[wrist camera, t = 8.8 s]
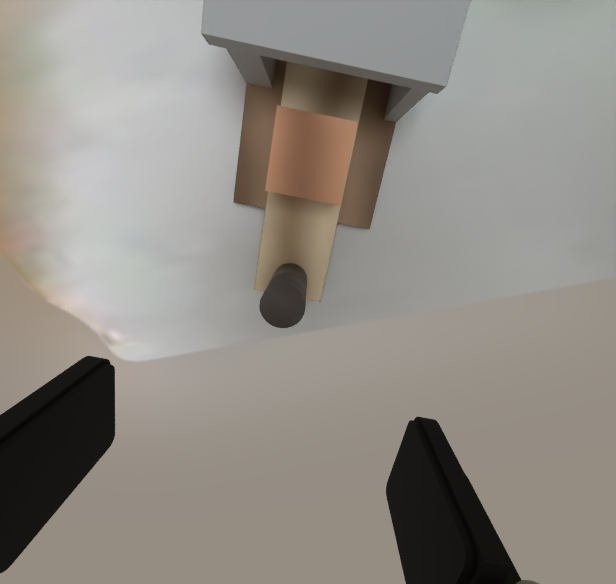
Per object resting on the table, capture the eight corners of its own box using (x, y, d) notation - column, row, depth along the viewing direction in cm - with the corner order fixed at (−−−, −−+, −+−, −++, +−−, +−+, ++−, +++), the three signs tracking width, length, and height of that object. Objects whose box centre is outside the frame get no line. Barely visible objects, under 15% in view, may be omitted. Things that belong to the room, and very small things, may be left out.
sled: (381, 12, 22) (416, -86, 14) (320, 298, 28) (322, 335, 21) (298, -7, 22) (290, -117, 14) (256, 286, 28) (234, 319, 21)
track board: (468, -187, 20) (478, -212, 19) (367, 227, 28) (369, 229, 27) (287, -232, 20) (285, -261, 18) (236, 202, 27) (233, 202, 26)
